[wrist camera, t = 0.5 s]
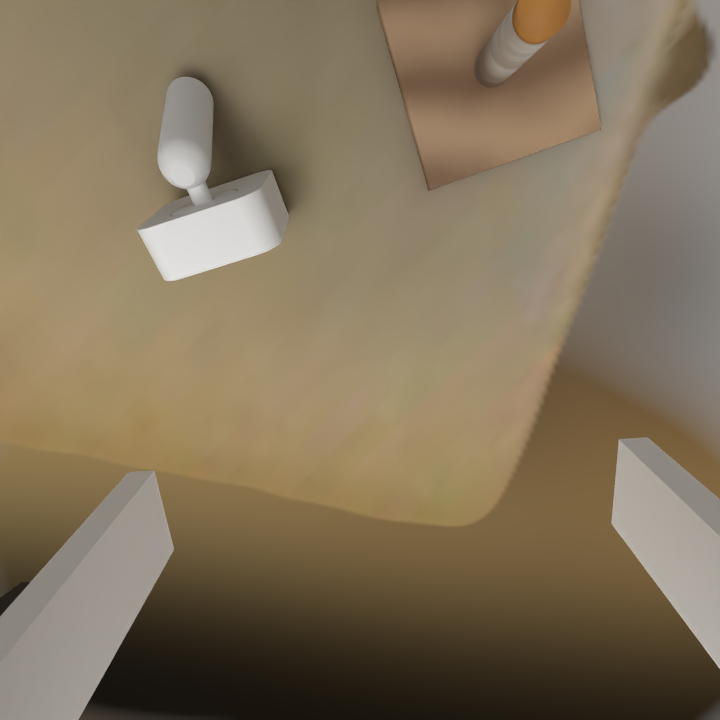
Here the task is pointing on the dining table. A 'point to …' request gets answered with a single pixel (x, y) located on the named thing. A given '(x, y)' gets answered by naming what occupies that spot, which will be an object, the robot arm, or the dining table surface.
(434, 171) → the keeper
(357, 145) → the dining table surface
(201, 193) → the wall hook
